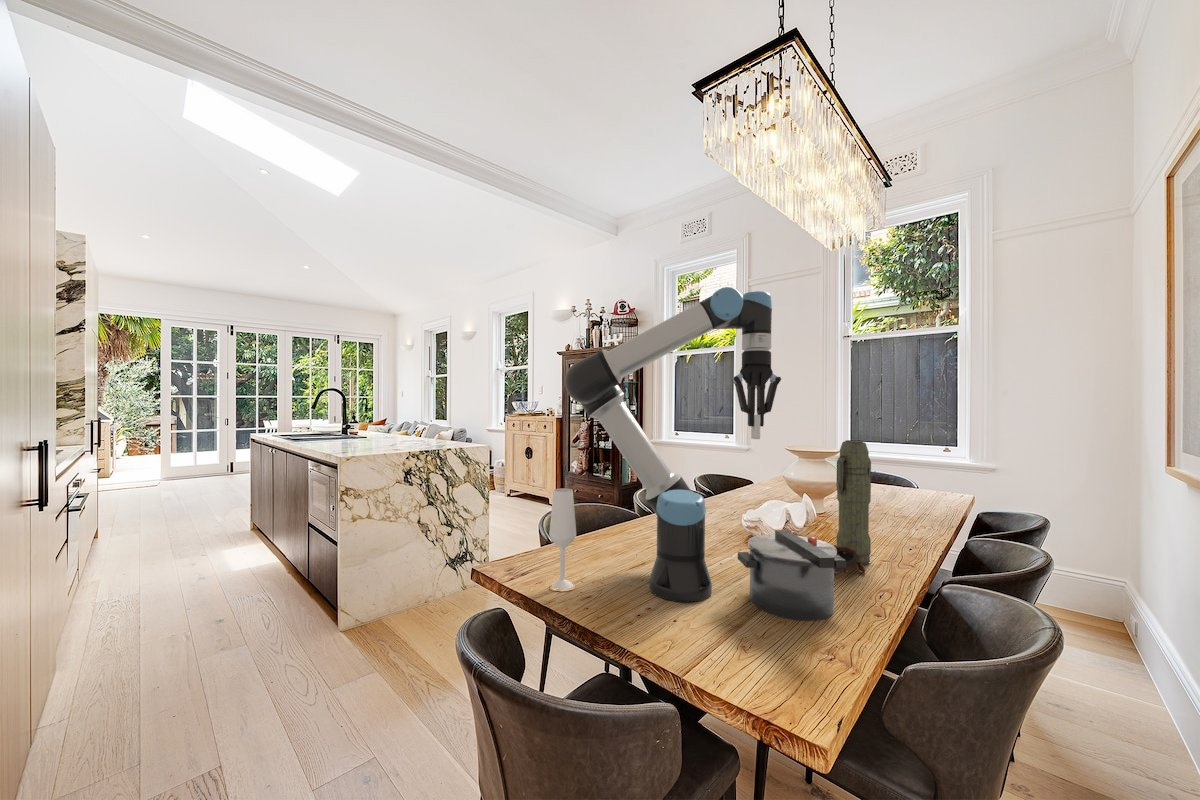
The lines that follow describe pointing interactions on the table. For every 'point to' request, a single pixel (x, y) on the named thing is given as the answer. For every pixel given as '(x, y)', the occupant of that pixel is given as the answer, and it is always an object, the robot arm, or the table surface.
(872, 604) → the table surface
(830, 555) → the lid
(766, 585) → the pot
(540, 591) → the table surface
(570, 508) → the champagne flute
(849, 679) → the table surface
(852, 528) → the thermos
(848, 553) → the pottery mug
